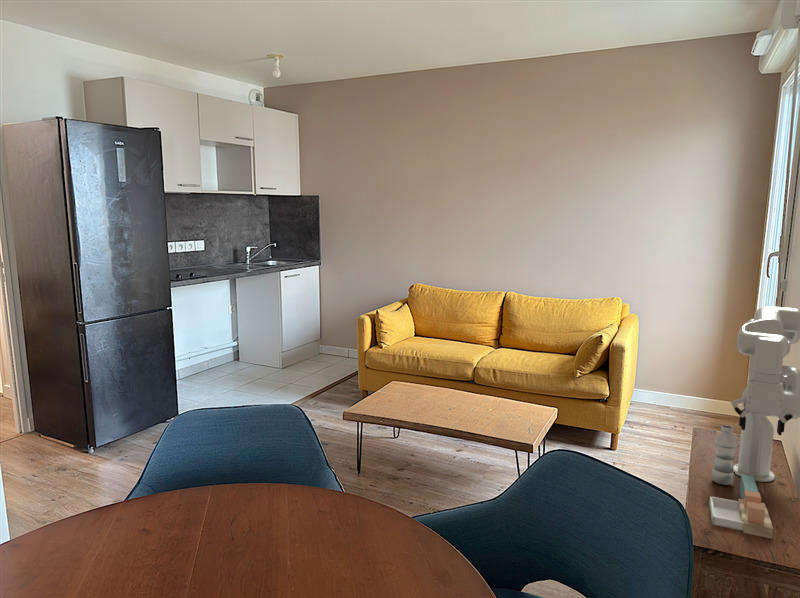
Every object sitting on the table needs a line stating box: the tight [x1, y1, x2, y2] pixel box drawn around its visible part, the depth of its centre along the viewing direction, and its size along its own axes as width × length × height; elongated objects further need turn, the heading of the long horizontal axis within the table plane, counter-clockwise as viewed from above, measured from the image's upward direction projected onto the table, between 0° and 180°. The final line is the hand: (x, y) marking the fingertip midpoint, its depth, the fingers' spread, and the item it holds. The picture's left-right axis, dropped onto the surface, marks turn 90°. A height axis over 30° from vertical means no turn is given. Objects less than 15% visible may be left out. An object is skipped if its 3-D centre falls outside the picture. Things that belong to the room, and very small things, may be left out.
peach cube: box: [746, 501, 765, 524], centre depth 164 cm, size 4×4×4 cm
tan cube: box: [743, 490, 762, 508], centre depth 172 cm, size 4×4×4 cm
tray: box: [708, 495, 744, 532], centre depth 171 cm, size 14×8×2 cm, turn 155°
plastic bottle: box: [711, 424, 739, 486], centre depth 192 cm, size 6×7×20 cm
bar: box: [739, 475, 759, 499], centre depth 182 cm, size 12×4×6 cm, turn 155°
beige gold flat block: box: [737, 498, 774, 539], centre depth 168 cm, size 16×7×3 cm, turn 155°
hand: (760, 431), depth 177 cm, fingers open, 9 cm apart
